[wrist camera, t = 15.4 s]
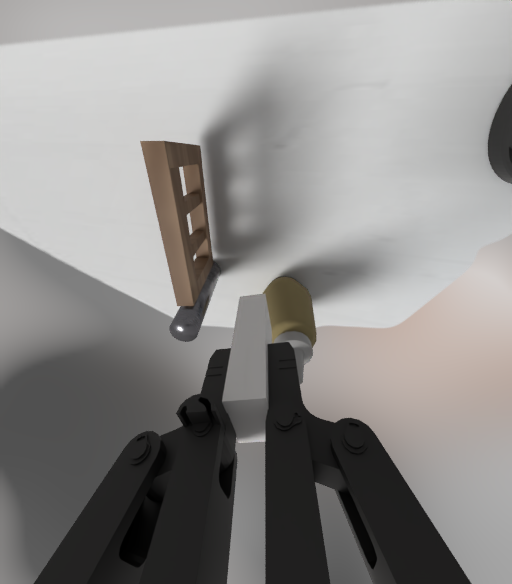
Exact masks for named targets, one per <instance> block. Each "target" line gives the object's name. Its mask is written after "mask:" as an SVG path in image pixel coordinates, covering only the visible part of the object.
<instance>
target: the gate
mask: <svg viewBox="0 0 512 584" xmlns="http://www.w3.org/2000/svg"><path fill="white" fill-rule="evenodd" d="M140 142H141V146H142V151H143V155H144V160H145V164H146V169H147V173H148V177H149V182H150V186H151V191H152V195H153V200H154V204H155V209H156V213H157V217H158V222H159V226H160V231H161V235H162V240H163V244H164V249H165V253H166V258H167V262H168V266H169V271H170V275H171V280H172V284H173V289H174V293H175V298H176V302H177V306H194V305H195V302H196V300H197V298H198V296H199V294H200V292H201V289H202V287H203V285H204V283H205V281H206V279H207V276H208V274H209V272H210V270H211V268H212V265H213V257H212V249H211V240H210V232H209V223H208V214H207V205H206V196H205V187H204V178H203V169H202V159H201V150H200V146H199V145H191V144H183V143H175V142H168V141H140ZM182 166H183V171H184V178H185V184H186V191H187V195H185V196H184V197H183V190H182V184H181V178H180V172H179V167H182ZM188 213H190V217H191V224H192V230H193V233H192V234H191V235H190V234H189V228H188V222H187V214H188ZM195 253H196V257H197V258H196V259H195V261H194V259H193V256H194V255H195Z"/></svg>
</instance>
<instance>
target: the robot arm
mask: <svg viewBox="0 0 512 584" xmlns="http://www.w3.org/2000/svg"><path fill="white" fill-rule="evenodd" d="M488 156H489V161H490V164H491V166H492V168H493V170H494V172H495V173H496V174H497V175H498V176H499V177H500V178H501V179H502V180H504V181H506V182H508V183H511V184H512V85H511V86H510V88H509V89H508V91H507V93H506V94H505V96H504V98H503V99H502V101H501V103H500V105H499V107H498V110H497V112H496V114H495V117H494V119H493V122H492V125H491V129H490V134H489V140H488ZM176 414H177V415H178V417H179V419H180V420H181V422H182V424H183V426H182V427H180V428H178V429H176V430H173V431H171V432H169V433H166V434H164V435H161V436H159V435H158V434H157V433H155V432H153V431H146V432H143V433H141V434H139V435H137V436H136V437H135V438H133V439H132V440H131V441H130V442H129V443H128V445H127V446H126V447H125V448H124V450H123V451H122V453H121V454H120V456H119V457H118V459H117V460H116V462H115V463H114V465H113V466H112V468H111V469H110V471H109V472H108V474H107V475H106V477H105V478H104V480H103V481H102V483H101V484H100V486H99V487H98V489H97V490H96V492H95V493H94V494H93V496H92V498H91V499H90V501H89V502H88V504H87V505H86V507H85V508H84V510H83V511H82V512H81V514H80V515H79V517H78V518H77V520H76V521H75V523H74V524H73V526H72V527H71V529H70V530H69V532H68V533H67V535H66V536H65V538H64V539H63V541H62V542H61V544H60V545H59V547H58V548H57V550H56V551H55V553H54V554H53V556H52V557H51V559H50V560H49V562H48V563H47V565H46V566H45V568H44V569H43V571H42V572H41V574H40V575H39V577H38V578H37V580H36V581H35V583H34V584H227V574H228V562H229V551H230V539H231V527H232V516H233V505H234V492H235V481H236V469H237V453H236V451H235V443H236V437H237V440H238V442H239V443H242V442H262V441H265V444H266V445H265V452H266V453H265V454H266V456H265V459H266V460H265V461H266V462H265V463H266V464H265V467H266V468H265V473H266V475H265V480H266V481H265V482H266V483H265V486H266V487H265V488H266V489H265V491H266V493H265V494H266V584H330V579H329V572H328V566H327V559H326V553H325V546H324V541H323V540H324V539H323V533H322V526H321V520H320V513H319V506H318V500H317V493H316V487H315V482H317V483H320V484H322V485H325V486H327V487H330V488H332V489H335V491H336V494H337V496H338V499H339V501H340V504H341V506H342V508H343V511H344V513H345V516H346V518H347V521H348V523H349V526H350V528H351V531H352V533H353V535H354V538H355V540H356V543H357V545H358V548H359V550H360V552H361V555H362V557H363V560H364V562H365V565H366V567H367V569H368V572H369V575H370V577H371V579H372V582H373V584H471V583H470V581H469V579H468V578H467V576H466V575H465V574H464V571H463V570H462V568H461V567H460V565H459V564H458V562H457V561H456V559H455V557H454V556H453V555H452V553H451V551H450V550H449V548H448V547H447V545H446V543H445V542H444V541H443V539H442V537H441V536H440V534H439V533H438V531H437V530H436V528H435V527H434V525H433V523H432V522H431V520H430V519H429V517H428V515H427V514H426V513H425V511H424V509H423V508H422V506H421V505H420V503H419V502H418V500H417V498H416V497H415V495H414V494H413V492H412V491H411V489H410V488H409V486H408V484H407V483H406V482H405V480H404V478H403V477H402V475H401V474H400V472H399V470H398V469H397V467H396V466H395V464H394V463H393V461H392V460H391V458H390V456H389V455H388V453H387V452H386V451H385V449H384V447H383V446H382V444H381V443H380V441H379V439H378V438H377V436H376V435H375V433H374V432H373V431H372V430H371V429H370V428H369V426H367V425H366V424H365V423H363V422H361V421H360V420H357V419H353V418H344V419H341V420H339V421H337V422H336V423H334V422H330V421H326V420H323V419H320V418H317V417H315V416H314V415H312V414H311V413H310V412H309V411H308V410H307V409H306V408H305V406H304V404H303V401H302V397H301V390H300V384H299V377H298V371H297V364H296V358H295V351H294V348H293V347H292V346H291V344H290V343H289V342H281V343H272V329H271V323H270V317H269V312H268V306H267V300H266V295H265V294H258V295H250V296H243V297H240V299H239V305H238V311H237V317H236V322H235V328H234V334H233V340H232V346H231V348H229V349H219V350H216V351H215V352H214V354H213V355H212V357H211V358H210V360H209V364H208V370H207V372H206V377H205V380H204V383H203V387H202V391H201V394H197V395H193V396H192V397H190V398H188V399H186V400H185V401H184V402H183V403H182V404H181V406H180V407H179V410H178V411H177V413H176Z"/></svg>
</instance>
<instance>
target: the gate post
mask: <svg viewBox="0 0 512 584" xmlns="http://www.w3.org/2000/svg"><path fill="white" fill-rule="evenodd" d="M220 272H221V270H220V267H219V265H218V264H217V263H215V262H213V265H212V268H211V270H210V272H209V274H208V276H207V279H206V281H205V283H204V285H203V287H202V289H201V292H200V294H199V296H198V298H197V300H196V302H195V305H194V306H181V307H180V309H179V310H178V312H177V314H176V316H175V318H174V320H173V322H172V323H171V325H170V333H171V334H172V336H174V338H176V339H178V340H180V341H185V342H186V341H187V342H188V341H192V340H194V339H195V338H196V337H197V335H198V332H199V330H200V327H201V324H202V321H203V319H204V316H205V313H206V310H207V308H208V305H209V302H210V300H211V297H212V294H213V291H214V289H215V286H216V283H217V280H218V278H219V275H220Z"/></svg>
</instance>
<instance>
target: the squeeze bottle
mask: <svg viewBox="0 0 512 584" xmlns="http://www.w3.org/2000/svg"><path fill="white" fill-rule="evenodd" d="M263 294H265V295H266V300H267V306H268V312H269V317H270V323H271V329H272V343H281V342H289V343H290V344H291V346H292V347H293V348H294V351H295V358H296V364H297V371H298V377H299V384H301V383H302V382H303V370H304V365H305V364H306V363H308V362H309V361H310V359H311V358H312V356H313V349H312V348H313V346H314V344H315V342H316V328H315V321H314V314H313V306H312V299H311V296H310V294H309V292H308V290H307V289H306V288H305V287H304V286H302V285H301V284H300V283H298V282H297V281H296V280H294V279H293V278H289V277H279V278H277V279H275V280H273V281H272V282H271V283H270V284H269V285H268V287H267V288H266V289H265V291H264V292H263Z"/></svg>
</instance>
